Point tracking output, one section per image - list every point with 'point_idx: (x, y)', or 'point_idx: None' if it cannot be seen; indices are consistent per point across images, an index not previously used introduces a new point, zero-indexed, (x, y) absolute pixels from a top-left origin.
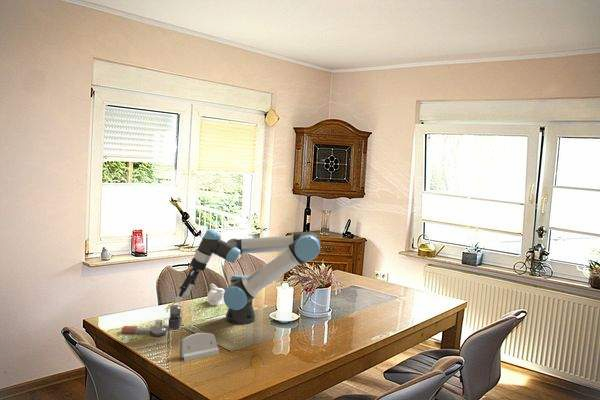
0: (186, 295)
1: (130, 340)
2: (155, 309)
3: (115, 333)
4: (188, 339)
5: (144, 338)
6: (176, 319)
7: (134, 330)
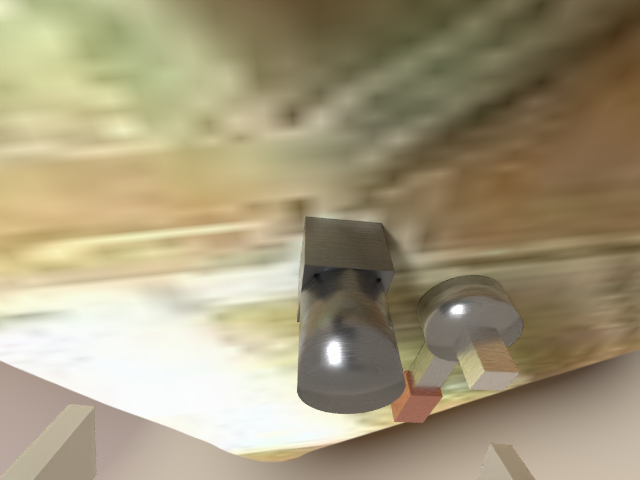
0: (87, 430)
1: None
2: (50, 359)
3: None
4: None
5: None
6: (388, 287)
7: (438, 389)
